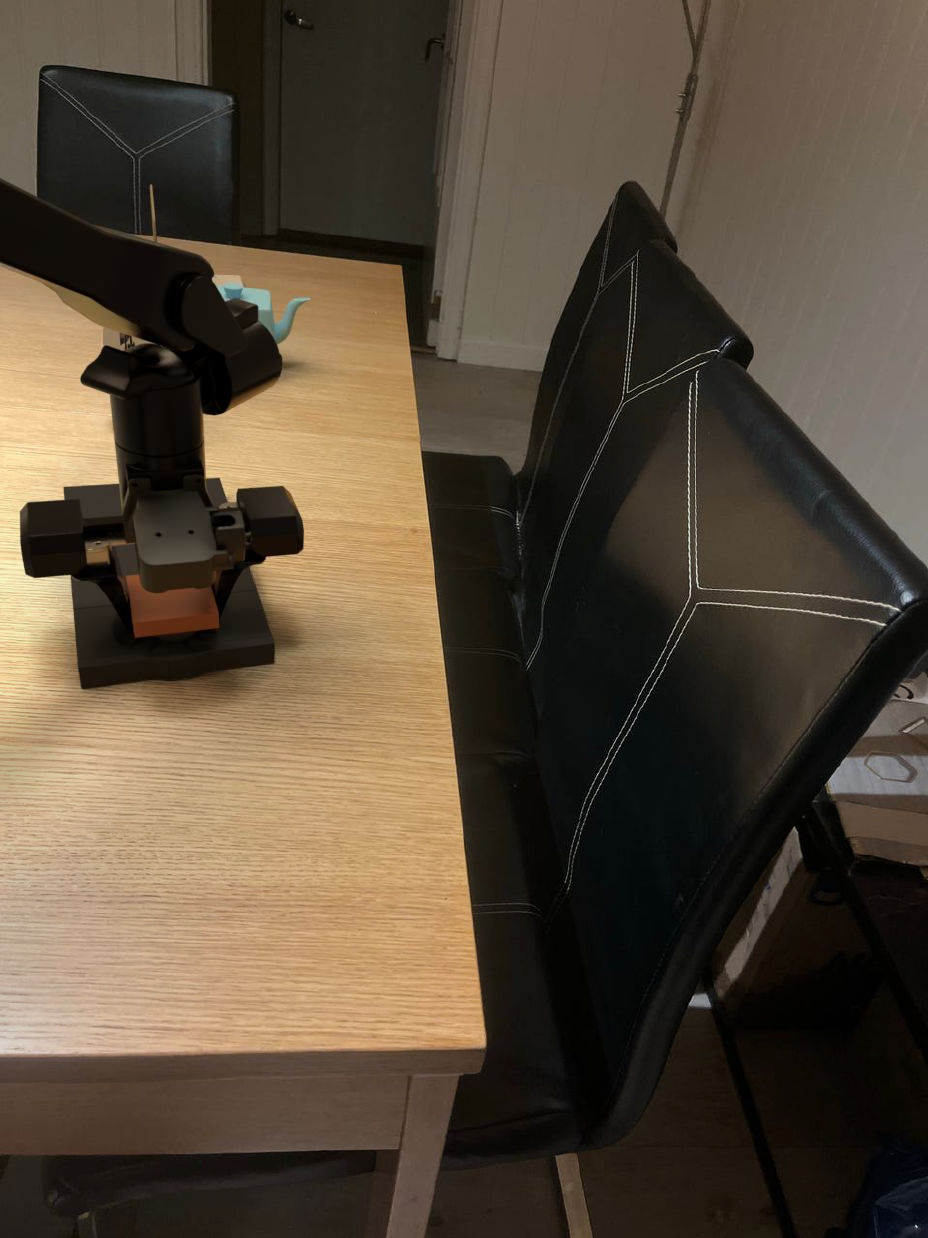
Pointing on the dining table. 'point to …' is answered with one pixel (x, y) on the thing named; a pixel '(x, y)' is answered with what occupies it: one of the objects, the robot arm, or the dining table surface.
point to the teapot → (264, 308)
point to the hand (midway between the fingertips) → (173, 622)
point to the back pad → (125, 658)
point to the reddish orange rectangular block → (171, 612)
